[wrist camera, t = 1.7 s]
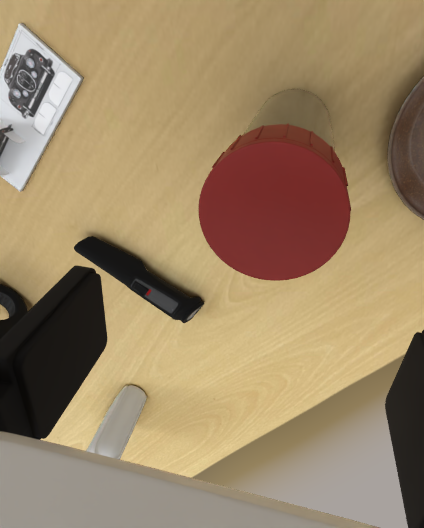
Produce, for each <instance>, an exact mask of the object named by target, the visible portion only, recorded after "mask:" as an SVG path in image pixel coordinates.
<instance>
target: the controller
mask: <svg viewBox="0 0 424 528" xmlns="http://www.w3.org/2000/svg"><path fill="white" fill-rule="evenodd" d="M0 304H1V305H2V306H4V307H5V308H6V310H7V311H8V313H9V318H8V319H5V320H0V339H1V338H2V337H3V336H4V335H5V334H6V333H7V332H8V331H9V330H10V329H11V328H12V327H13V326H14V325H15V324H16V323H17V322H18V321H19V320H20V319H21V318H22V317H23V316H24V315H25V314H26V313H27V312H28V311H27V307H26V305H25V303H24V301H23V300H22V299H21V297H20V296H19V295H18V294H17V293H16V292H14V291H13V290H11V289H10V288H8V287H6V286H4V285H1V284H0Z"/></svg>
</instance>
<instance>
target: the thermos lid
mask: <svg viewBox="0 0 424 528" xmlns="http://www.w3.org/2000/svg"><path fill="white" fill-rule="evenodd" d="M212 168H213V169H212V171H211V172H210V174H209V175H208V177H207V179H206V180H205V183H204V185H203V188H202V191H201V194H200V199H199V219H200V225H201V228H202V231H203V234H204V236H205V238H206V241H207V242H208V244H209V245H210V247H211V248H212V250H213V251H214V252H215V254H216V255H217V256H218V257H219V258H220V259H221V260H222V261H224V262H225V263H226V264H227V265H229V266H230V267H232V268H233V269H235V270H236V271H239V272H241V273H243V274H245V275H248V276H251V277H254V278H258V279H264V280H289V279H293V278H298V277H301V276H304V275H306V274H309V273H311V272H313V271H315V270H316V269H318V268H319V267H321V266H322V265H324V264H325V263H326V262H327V261H329V260H330V258H331V257H332V256H333V255H334V254H335V253H336V252H337V250H338V249H339V248H340V246H341V244H342V242H343V241H344V239H345V236H346V234H347V231H348V227H349V222H350V211H351V207H350V201H349V196H348V190H347V186H348V183H347V178H346V173H345V168H344V167H342V165H341V162H340V160H339V158H338V157H337V155H336V153H335V152H334V150H333V147H332V146H331V147H330V146H329V144H327V143H326V142H325V141H324V140H323V139H322V138H320V137H319V136H317V135H316V134H315V133H314V132H313V131H308V130H306V129H304V128H301V127H298V126H292V125H289V124H287V125H284V124H276V125H267V126H264V125H262V126H261V127H259V128H257V129H254V130H251V131H249V132H248V133H246V134H244V135H242V136H241V135H240V136H239V137H238V138H237V140H236V141H235V142H234V143H233V144H231V145H230V147H229V148H228V149H227V150H226V152H223V153H222V154H221V156H220V157H219V158H218V160H217V161H216V162H215V164H214V165H213V166H212Z"/></svg>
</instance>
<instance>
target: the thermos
mask: <svg viewBox="0 0 424 528" xmlns="http://www.w3.org/2000/svg"><path fill="white" fill-rule="evenodd" d="M276 124H284V125H287V124H289V125H292V126H298V127H301V128H304V129H306V130H308V131H313V132H314V133H315V134H316V135H317V136H319V137H320V138H322V139H323V140H324V141H325V142H326V143H327V144H329V146H330V147H331V146H332V147H333V150H334V152H335V147H334V140H333V134H332V127H331V121H330V116H329V112H328V110H327V108H326V106H325V104H324V103H323V102H322V101H321V99H319V98H318V97H317V96H316V95H314V94H313V93H311V92H309V91H306V90H302V89H288V90H284V91H281V92H279V93H277V94H275V95H273V96H272V97H271V98H269V99H268V100H267V101H266V102H265V104H264V105H263V106H262V108H261V109H260V110H259V112H258V113H257V115H256V116H255V118H254V119H253V121H252V122H251V124H250V125H249V127H248V128H247V130H246V131H245V133H244V134H246V133H248V132H249V131H251V130H254V129H257V128H259V127H261V126H262V125H264V126H267V125H276ZM244 134H243V135H244Z"/></svg>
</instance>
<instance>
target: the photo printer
mask: <svg viewBox="0 0 424 528" xmlns="http://www.w3.org/2000/svg"><path fill="white" fill-rule="evenodd" d="M146 398H147V396H146V395H145V393H144V391H142V390H141V389H140V388H138V387H136V386H133V385H129V386H127V385H126V386H125V387H124V388H123V389H122V390H121V391H120V393H119V394H118V395H117V397H116V398H115V400H114V401H113V403H112V405H111V406H110V408H109V410H108V411H107V413H106V415H105V416H104V419H103V421H102V423H101V424H100V426H99V428H98V430H97V432H96V434H95V436H94V437H93V439H92V441H91V443H90V445H89V447H88V448H87V450H86V451H88V452H92V453H96V454H99V455H103V456H107V457H111V458H115V459H119V460H120V458H121V456H122V453H123V451H124V449H125V447H126V445H127V443H128V440H129V438H130V436H131V434H132V432H133V429H134V427H135V425H136V423H137V420H138V418H139V416H140V414H141V411H142V409H143V407H144V405H145V402H146Z"/></svg>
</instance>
